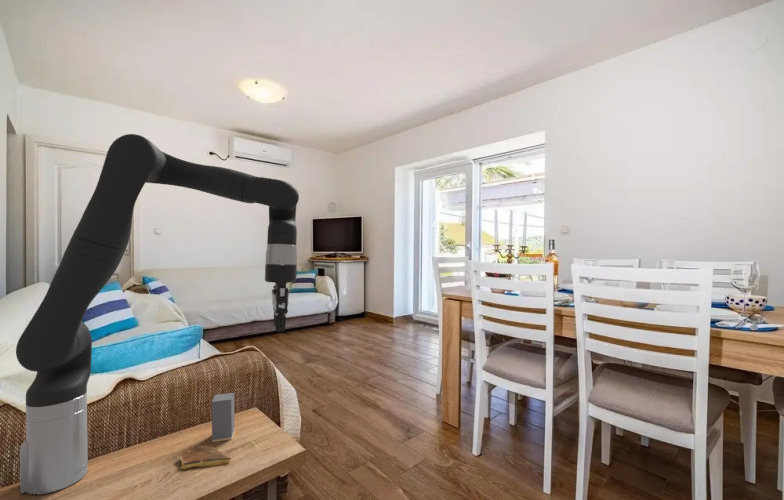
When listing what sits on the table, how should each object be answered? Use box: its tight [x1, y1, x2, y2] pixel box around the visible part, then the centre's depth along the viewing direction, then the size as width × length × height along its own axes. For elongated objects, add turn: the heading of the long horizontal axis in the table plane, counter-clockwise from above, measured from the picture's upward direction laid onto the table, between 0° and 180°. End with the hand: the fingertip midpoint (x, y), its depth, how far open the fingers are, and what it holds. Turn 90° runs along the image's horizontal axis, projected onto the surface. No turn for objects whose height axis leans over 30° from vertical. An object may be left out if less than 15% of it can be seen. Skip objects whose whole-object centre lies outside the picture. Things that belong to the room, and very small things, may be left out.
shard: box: [176, 444, 232, 470], centre depth 79 cm, size 11×8×2 cm
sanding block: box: [211, 392, 236, 443], centre depth 90 cm, size 5×5×10 cm
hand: (279, 328), depth 87 cm, fingers open, 8 cm apart
